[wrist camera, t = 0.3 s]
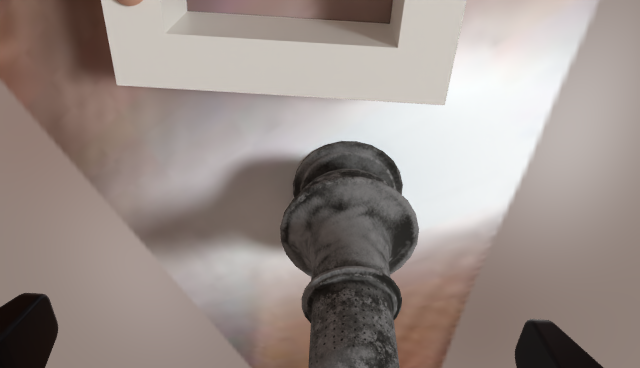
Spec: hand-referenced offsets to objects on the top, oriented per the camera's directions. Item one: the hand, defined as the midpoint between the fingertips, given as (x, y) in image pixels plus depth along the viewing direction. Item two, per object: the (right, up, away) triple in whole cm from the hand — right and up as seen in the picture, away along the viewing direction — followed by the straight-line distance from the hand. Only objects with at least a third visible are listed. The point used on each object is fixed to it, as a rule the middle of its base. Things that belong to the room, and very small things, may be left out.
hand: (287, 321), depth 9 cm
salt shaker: (+2, +2, +15) cm, 15 cm away
